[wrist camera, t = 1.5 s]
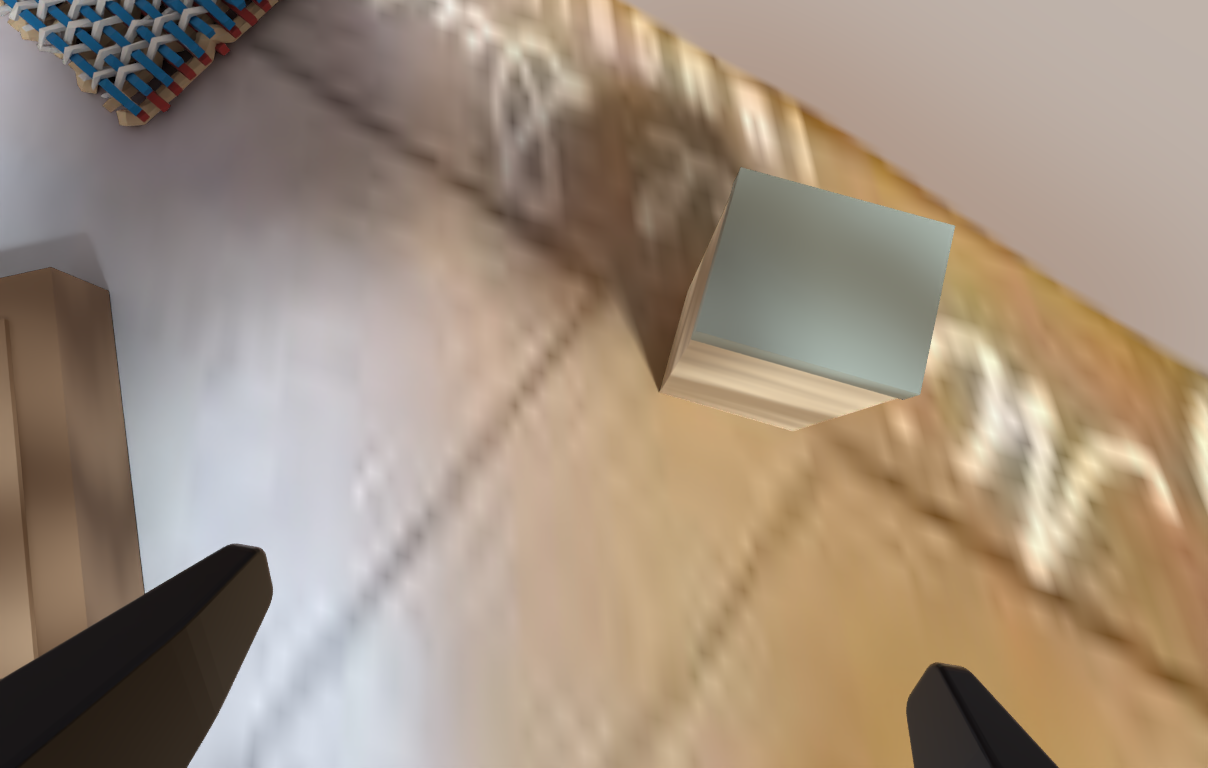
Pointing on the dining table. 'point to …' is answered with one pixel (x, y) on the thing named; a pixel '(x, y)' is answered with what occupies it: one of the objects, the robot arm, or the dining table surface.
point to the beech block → (808, 305)
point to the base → (60, 466)
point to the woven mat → (134, 43)
